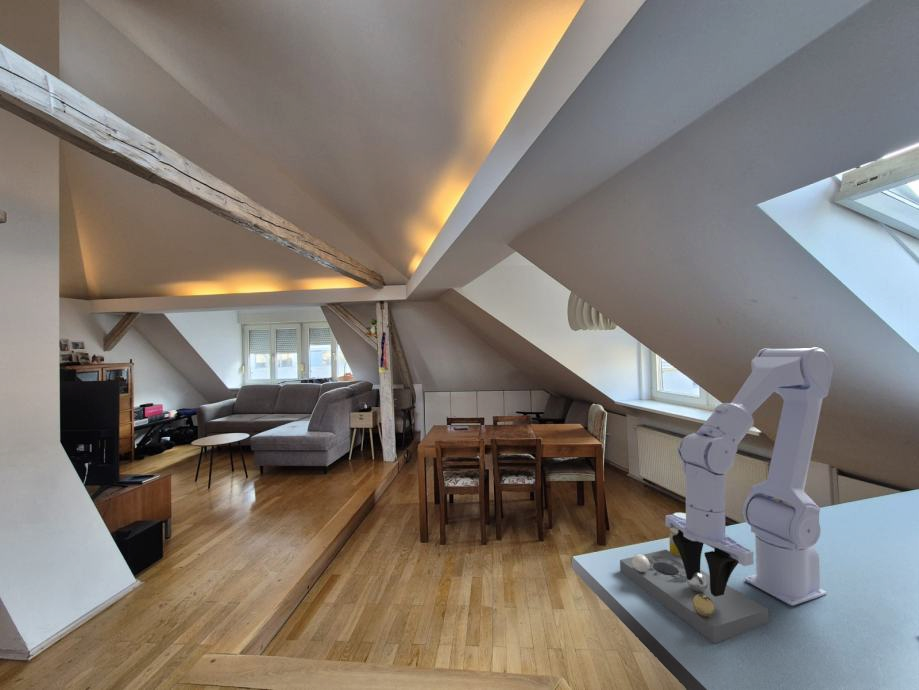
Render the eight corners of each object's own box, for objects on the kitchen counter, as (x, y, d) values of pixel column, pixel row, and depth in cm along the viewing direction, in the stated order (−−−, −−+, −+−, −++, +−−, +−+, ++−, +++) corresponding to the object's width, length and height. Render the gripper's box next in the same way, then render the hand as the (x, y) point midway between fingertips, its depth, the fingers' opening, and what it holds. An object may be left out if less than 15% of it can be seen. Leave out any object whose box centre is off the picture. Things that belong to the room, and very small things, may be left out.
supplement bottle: (681, 570, 77) (680, 522, 78) (664, 556, 83) (663, 511, 83) (705, 568, 78) (704, 521, 78) (686, 554, 83) (686, 510, 84)
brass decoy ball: (701, 606, 63) (701, 588, 63) (719, 618, 60) (719, 599, 60) (688, 611, 62) (687, 592, 62) (705, 623, 59) (704, 603, 59)
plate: (666, 561, 81) (665, 549, 81) (768, 624, 62) (768, 609, 62) (620, 572, 77) (619, 559, 77) (714, 643, 58) (713, 627, 58)
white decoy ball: (641, 565, 75) (640, 549, 75) (653, 573, 72) (653, 557, 72) (628, 568, 74) (628, 552, 74) (640, 576, 71) (640, 560, 71)
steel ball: (712, 591, 66) (693, 581, 69) (710, 573, 66) (691, 564, 69) (702, 599, 65) (683, 589, 68) (700, 581, 65) (681, 572, 67)
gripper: (652, 493, 71) (652, 567, 71) (730, 526, 57) (730, 619, 57) (681, 489, 73) (681, 561, 73) (762, 521, 60) (763, 609, 59)
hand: (705, 586), depth 65 cm, fingers open, 4 cm apart
